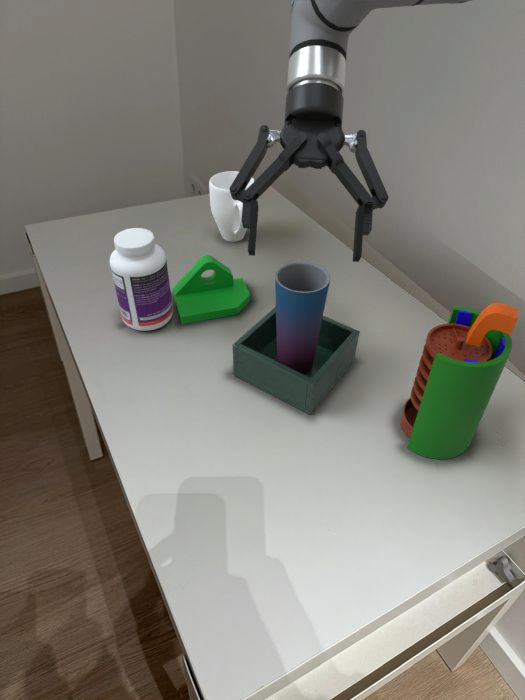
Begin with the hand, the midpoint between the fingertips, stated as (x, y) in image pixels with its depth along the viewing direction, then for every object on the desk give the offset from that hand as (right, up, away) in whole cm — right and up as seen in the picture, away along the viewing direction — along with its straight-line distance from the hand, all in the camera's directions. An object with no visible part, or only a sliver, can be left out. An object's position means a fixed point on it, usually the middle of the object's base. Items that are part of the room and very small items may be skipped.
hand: (303, 256), depth 66 cm
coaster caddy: (+17, -22, 0) cm, 28 cm away
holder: (-1, -15, +8) cm, 16 cm away
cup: (-1, -14, +7) cm, 16 cm away
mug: (-10, +9, +33) cm, 36 cm away
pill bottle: (-23, -7, +15) cm, 29 cm away
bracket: (-13, -5, +19) cm, 23 cm away
